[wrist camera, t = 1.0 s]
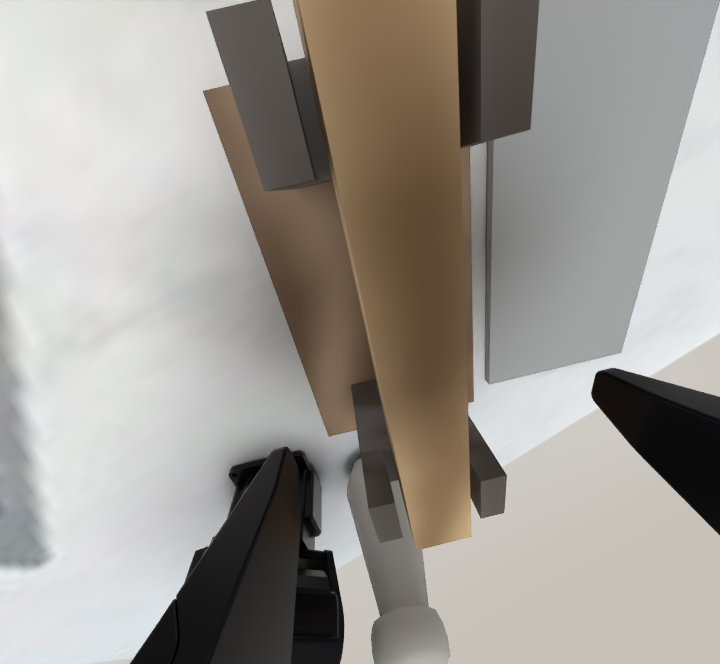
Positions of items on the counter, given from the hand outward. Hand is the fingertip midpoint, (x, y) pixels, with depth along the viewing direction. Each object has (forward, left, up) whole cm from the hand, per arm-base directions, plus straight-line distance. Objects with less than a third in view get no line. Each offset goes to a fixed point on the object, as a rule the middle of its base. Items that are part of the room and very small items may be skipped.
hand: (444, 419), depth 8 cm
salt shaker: (-3, -17, -12) cm, 21 cm away
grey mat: (+13, +2, -12) cm, 18 cm away
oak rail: (0, 0, -5) cm, 5 cm away
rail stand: (0, 0, -12) cm, 12 cm away
